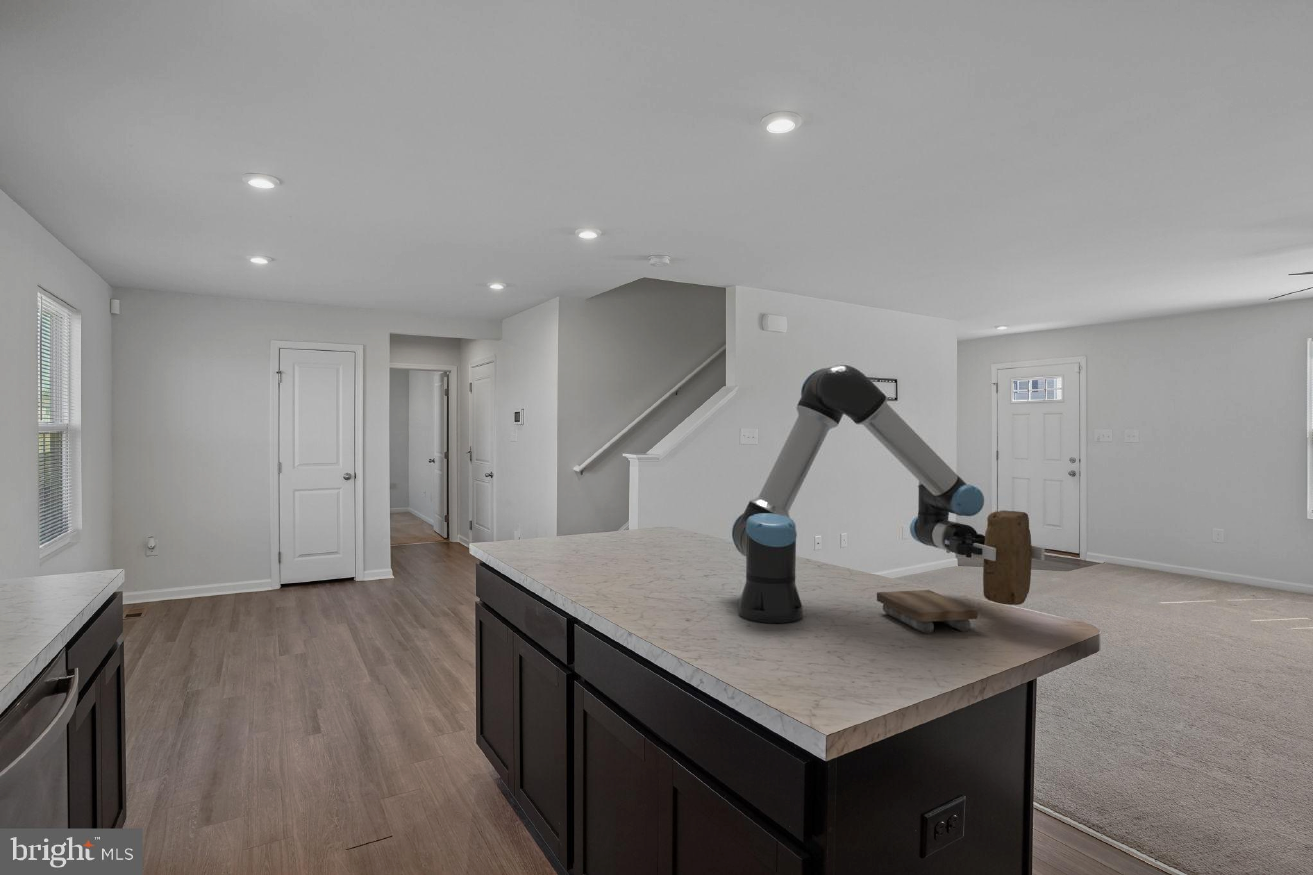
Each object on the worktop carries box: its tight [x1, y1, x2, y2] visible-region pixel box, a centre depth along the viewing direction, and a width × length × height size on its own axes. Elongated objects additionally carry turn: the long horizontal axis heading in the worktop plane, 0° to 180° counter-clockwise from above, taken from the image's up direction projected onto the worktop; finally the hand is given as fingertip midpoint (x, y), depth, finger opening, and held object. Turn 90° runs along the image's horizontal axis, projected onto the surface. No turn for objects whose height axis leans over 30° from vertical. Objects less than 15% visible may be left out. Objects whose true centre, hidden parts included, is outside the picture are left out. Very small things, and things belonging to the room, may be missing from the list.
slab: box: [876, 589, 979, 635], centre depth 155 cm, size 14×18×5 cm
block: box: [982, 510, 1033, 606], centre depth 149 cm, size 11×8×20 cm
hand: (1019, 554), depth 146 cm, fingers closed on block, 11 cm apart
